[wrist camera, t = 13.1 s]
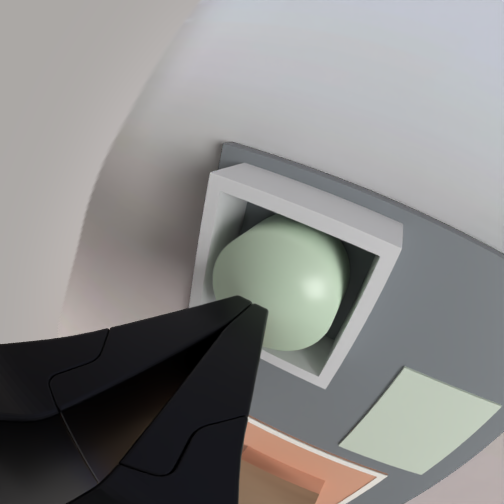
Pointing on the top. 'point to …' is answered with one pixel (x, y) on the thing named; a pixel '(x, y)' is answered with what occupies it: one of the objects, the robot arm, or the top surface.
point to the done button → (286, 279)
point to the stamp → (274, 481)
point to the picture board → (369, 336)
